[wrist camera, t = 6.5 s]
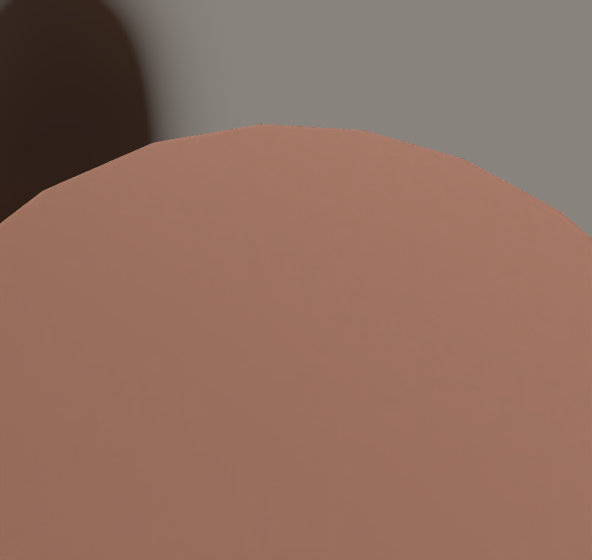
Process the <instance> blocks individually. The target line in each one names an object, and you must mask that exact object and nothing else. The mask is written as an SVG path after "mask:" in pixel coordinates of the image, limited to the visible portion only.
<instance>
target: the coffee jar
mask: <svg viewBox="0 0 592 560" xmlns="http://www.w3.org/2000/svg"><path fill="white" fill-rule="evenodd" d="M0 560H592V238H591V237H590V236H589V235H587V234H586V233H585V232H584V231H583V230H582V229H580V228H579V227H578V226H577V225H576V224H575V223H574V222H572V221H571V220H570V219H569V218H568V217H566V216H565V215H564V214H563V213H562V212H560V211H558V210H556V209H555V208H553V207H551V206H549V205H547V204H545V203H543V202H542V201H540V200H538V199H536V198H534V197H533V196H531V195H529V194H527V193H525V192H523V191H522V190H520V189H518V188H516V187H514V186H512V185H511V184H509V183H507V182H505V181H503V180H501V179H499V178H498V177H496V176H494V175H492V174H490V173H488V172H487V171H484V170H483V169H481V168H479V167H478V166H475V165H474V164H472V163H470V162H468V161H466V160H464V159H461V158H457V157H454V156H451V155H447V154H444V153H440V152H437V151H434V150H430V149H427V148H423V147H420V146H416V145H413V144H409V143H406V142H403V141H399V140H396V139H392V138H389V137H386V136H382V135H379V134H375V133H372V132H369V131H365V130H350V129H349V130H348V129H333V128H317V127H301V126H284V125H267V124H259V125H253V126H247V127H241V128H236V129H230V130H225V131H219V132H213V133H207V134H201V135H196V136H189V137H184V138H178V139H172V140H166V141H161V142H155V143H152V144H150V145H147V146H145V147H143V148H140V149H138V150H136V151H134V152H131V153H129V154H127V155H124V156H122V157H120V158H118V159H115V160H113V161H110V162H108V163H106V164H104V165H101V166H99V167H97V168H94V169H92V170H90V171H87V172H85V173H83V174H81V175H78V176H76V177H74V178H71V179H69V180H67V181H64V182H62V183H60V184H58V185H56V186H53V187H51V188H48V189H46V190H44V191H42V192H41V193H40V194H38V195H37V196H36V197H34V198H33V199H32V200H30V201H29V202H28V203H26V204H25V205H24V206H23V207H21V208H20V209H19V210H17V211H16V212H15V213H14V214H12V215H11V216H10V217H8V218H7V219H6V220H4V221H3V222H2V223H1V224H0Z"/></svg>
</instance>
